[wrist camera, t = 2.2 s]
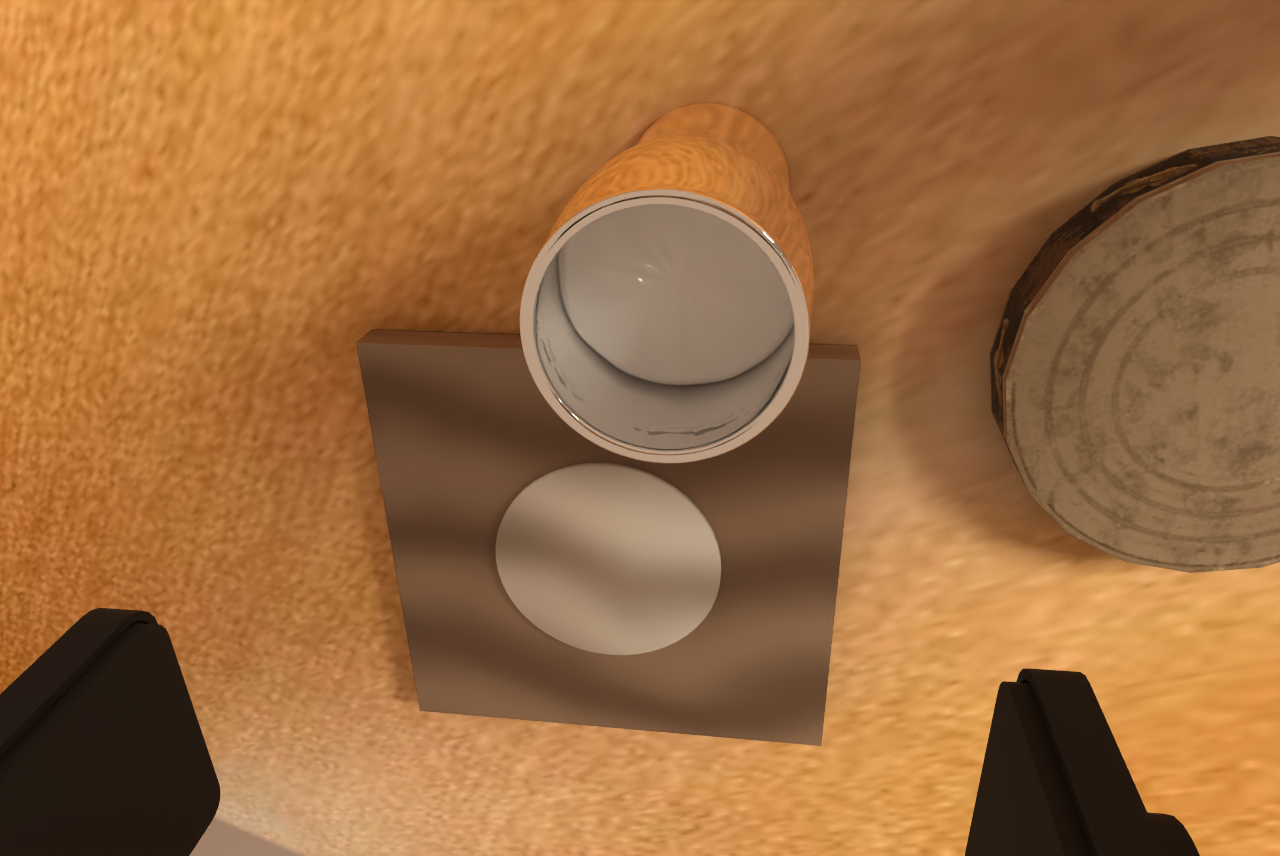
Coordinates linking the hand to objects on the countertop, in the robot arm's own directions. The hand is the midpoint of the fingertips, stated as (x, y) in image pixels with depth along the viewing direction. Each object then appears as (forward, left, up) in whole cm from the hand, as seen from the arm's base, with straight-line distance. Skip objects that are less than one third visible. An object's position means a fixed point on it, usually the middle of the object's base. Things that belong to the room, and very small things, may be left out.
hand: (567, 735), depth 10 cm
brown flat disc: (+6, +19, -27) cm, 33 cm away
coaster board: (+16, -4, -26) cm, 31 cm away
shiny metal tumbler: (0, 0, -27) cm, 27 cm away
